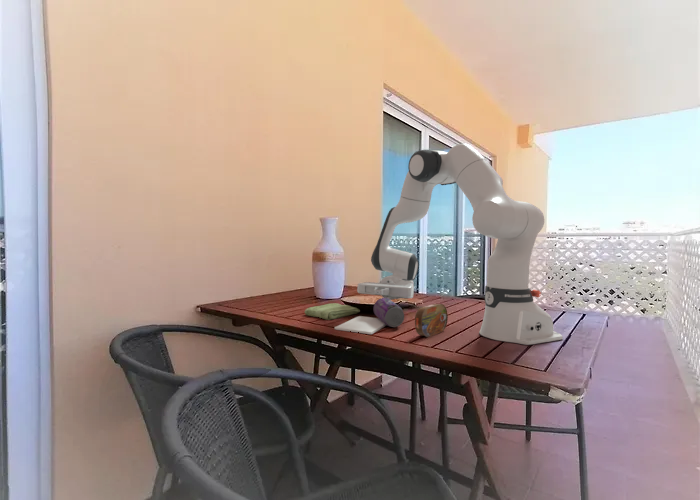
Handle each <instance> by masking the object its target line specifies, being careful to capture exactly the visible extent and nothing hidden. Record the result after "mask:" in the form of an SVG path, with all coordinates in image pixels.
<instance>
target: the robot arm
mask: <svg viewBox="0 0 700 500" xmlns="http://www.w3.org/2000/svg"><path fill="white" fill-rule="evenodd" d="M407 167H408V171H407V174H406V175H405V178H404V181H403V184H402V188H401V192H400V197H399V200H398V202H397V204H396V205H395V206H394V207H392V208H390V209H389V211H388V213H387V215H386V218H385V219H384V220H385V221H384V222H383V226H382V229H381V231H380V234H379V236H378V240H377V243H376V246H375V247H374V249H373V251H372V254H371V258H370V261H371V264H372V266H373V268H374V269H375V270H377V271H382V272H387V273H390V274H391V275H388V276H384V277H383V278H381V280H380V281H379V282H374V281H373V282H372V281H366V282H359V283H357V293H358V294H360V295H362V294H363V295H373V296H374V295H375V296H382V297H381V298H388V299H390V300H391V301H393V300H399V299H413V298H414V292H415V289H414V287H415V286H414V285H415V284H414V280H416V278H417V277H416V276H417V275H418V271H419V260H418V257H417V256H416V255H415V253H411V252H408V251H405V250H400V249H397V248H393V247H391V246H390V242H391V240H392V238H393V234H394V231H395V229H396V228H397V226H398V225H402V224H405V223H406V224H407V223H414V222H417V221H420V220H422V219H423V218H424V217H425V216H426V215H427V214H428V212H429V208H430V204H431V199H432V193H433V189H434V188H435V187H436V186H438V185H441V186H446V185H453V184H454V185H455V184H456V185H457V186H458V187H459V189H460V190H461V191H462V192H463V194H464V195H465V197H466V198H467V200H468V201H469V203H470V204H471V207H472V210H473V212H472V219H471V220H472V225H473V228H474V229H475V231H476V232H477V233H478V234H480V235H483V236H485V237H487V238H490V239H496V240H497V241H496V245H495V247H494V249H493V252H492V253H491V255H490V256H489V257H488V259H487V267H486V271H487V272H486V285H485V287H484V288H485V289H484V304H485V305H484V306H485V307H484V314H483V320H482V324H481V325H480V326H481V327H480V330H479V335H481V336H483V337H485V338H488V339H491V340H495V341H498V342H499V341H501V342H507V343H515V344H521V345H528V346H531V345H536V344H543V343H548V342H554V341H559V340H560V341H561V340H563V339H564V338H563V335H562V334H561V333H559V332H557V331H554V322H553V319H552V316H551V315H550V314H549V313H548V312H547V311H545V310H544V309H543V308H541V306H540V305H538V304H537V303H536V302H534V297H535V298H541V297H542V292H541V290H539V289H532V290H531V289H530V288H529V283H530V282H529V277H530V263H531V256H532V252H533V249H534V246H535V242H536V239H537V237H538V234H539V233H540V232H541V231H542V229H543V227H544V225H545V215H544V213H543V211H542V210H541V209H540V208H539V207H537V206H535V205H534V204H532V203H530V202H528V201H521V200H520V201H519V200H514V199H512V198H511V197H510V196H509V195H508V194H507V193H506V191H505V189H504V182H503V181H504V180H503V178H502V177H501V175H500V174H499V173H498V172H497V171H496V170H495V168H494V167H493V166H492V165H491V164H490V162H488V160H487V159H486V158H485V157H484V156H483V155H482V154H481V153H480V152H479V151H478V150H477V149H475V148H474V147H473V146H472V145H470V144H467V143H458V144H456V145H454V146H453V147H451V148H450V149H449V150H448V151H443V150H438V149H435V150H434V149H432V150H431V149H421V150H420V149H419V150H417V151H415V152H414V153H412V154H411V156H410V158H409V161H408V166H407Z"/></svg>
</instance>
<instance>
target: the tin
mask: <svg viewBox="0 0 700 500" xmlns="http://www.w3.org/2000/svg"><path fill="white" fill-rule="evenodd" d="M448 318H449V316H448V309H447V307H446V305H444V304H443V303H433V304H429V305H426V306H422V307H420V308H418V309H417V311H416V313H415V316H414V326H415V331H416V334H417V335H418V336H420V337H421V336H422V337H426V338H430V337H433V336H435V335H438V334H440V333H442V332H444V331H445V329H446V328H447V325H448Z"/></svg>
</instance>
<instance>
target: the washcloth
mask: <svg viewBox="0 0 700 500" xmlns="http://www.w3.org/2000/svg"><path fill="white" fill-rule="evenodd" d="M360 312H361V310H360V309H359V308H357V307H354V306H351V305H348V304H344V305H343V304H341V303H338V302H337V303H335V302H333V303H325V304H321V305H317V306H311V307H308V308H306V309H305V310H304V314H305V315H306V316H308V317H309V316H310V317H313V318H318V317H319V319H321V318H322V319H323V320H327V321H331V320H332V321H333V320H337V319H339V318H344V317H348V316H351V315H356V314H358V313H360Z"/></svg>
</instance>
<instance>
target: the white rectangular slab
mask: <svg viewBox="0 0 700 500" xmlns="http://www.w3.org/2000/svg"><path fill="white" fill-rule="evenodd" d="M386 326H387V325H386V324H385V323H383V322H382V321H381V320H380V319H379V318H378V317H370V316H362V315H359V316H355V317H354V318H352V319H350V320H348V321H344V322H343V323H341V324H339V325H337V326H334V330H337V331H344V332H350V331H351V332H352V333H358V332H359V334H364V335H365V334H367V335H373V334H374V333H376V332H378V331H380V330H381V329H383V328H384V327H386Z"/></svg>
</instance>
